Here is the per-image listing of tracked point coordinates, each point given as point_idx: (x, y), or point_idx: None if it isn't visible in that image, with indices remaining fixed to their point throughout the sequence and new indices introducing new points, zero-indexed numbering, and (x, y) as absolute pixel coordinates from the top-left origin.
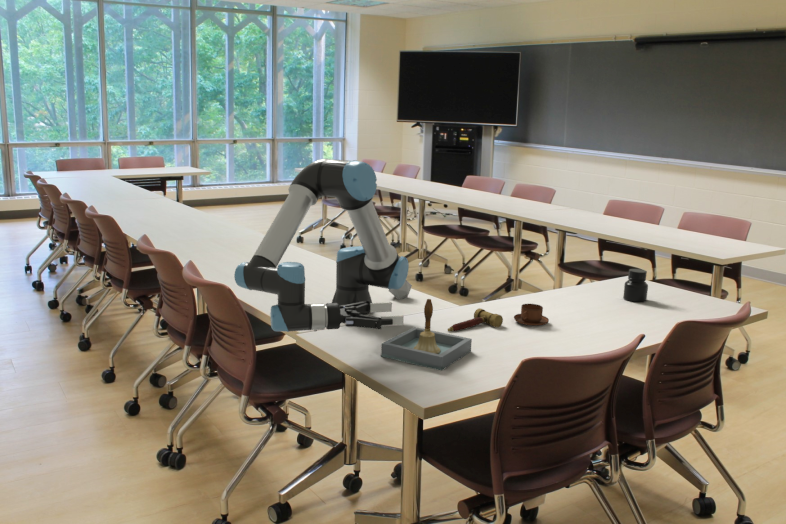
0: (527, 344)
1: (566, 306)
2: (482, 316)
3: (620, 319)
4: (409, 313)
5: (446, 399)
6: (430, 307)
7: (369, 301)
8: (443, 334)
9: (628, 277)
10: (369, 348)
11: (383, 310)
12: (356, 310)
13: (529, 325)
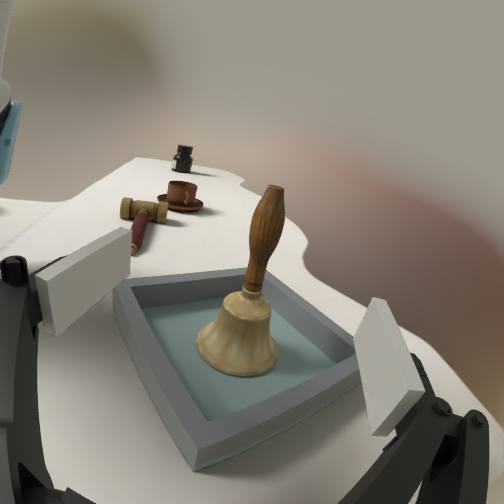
0: None
1: (158, 182)
2: (141, 209)
3: (217, 188)
4: (13, 234)
5: (488, 418)
6: (284, 216)
7: (26, 263)
8: (208, 277)
9: (179, 151)
10: (86, 449)
11: (105, 286)
12: (24, 440)
13: (191, 210)
